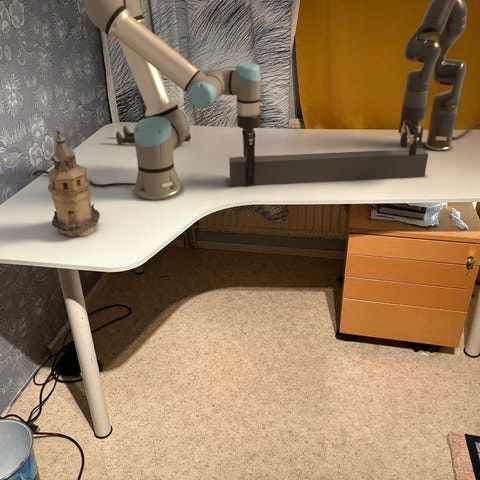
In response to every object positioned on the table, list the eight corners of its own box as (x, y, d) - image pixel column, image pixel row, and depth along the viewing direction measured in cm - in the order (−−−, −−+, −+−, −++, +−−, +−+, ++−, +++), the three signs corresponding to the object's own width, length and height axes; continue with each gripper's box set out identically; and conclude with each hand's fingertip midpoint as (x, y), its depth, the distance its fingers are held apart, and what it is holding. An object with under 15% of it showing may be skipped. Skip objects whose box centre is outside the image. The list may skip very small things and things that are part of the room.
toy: (131, 119, 231) (198, 119, 225) (133, 133, 234) (199, 134, 228) (106, 139, 209) (180, 139, 203) (109, 154, 212) (182, 155, 206)
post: (230, 186, 181) (230, 162, 177) (229, 180, 185) (229, 157, 181) (424, 176, 186) (428, 153, 182) (419, 171, 190) (422, 148, 186)
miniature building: (80, 214, 164) (63, 117, 149) (111, 225, 157) (96, 125, 142) (44, 231, 154) (22, 130, 140) (75, 244, 147) (55, 139, 133)
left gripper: (263, 121, 164) (263, 191, 176) (256, 105, 180) (256, 170, 191) (239, 122, 164) (240, 192, 175) (234, 106, 179) (235, 171, 191)
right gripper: (434, 109, 169) (426, 157, 177) (417, 98, 182) (410, 144, 189) (411, 109, 169) (404, 158, 176) (395, 98, 181) (389, 144, 189)
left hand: (249, 180), depth 183 cm, fingers closed on post, 5 cm apart
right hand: (407, 151), depth 183 cm, fingers open, 8 cm apart
